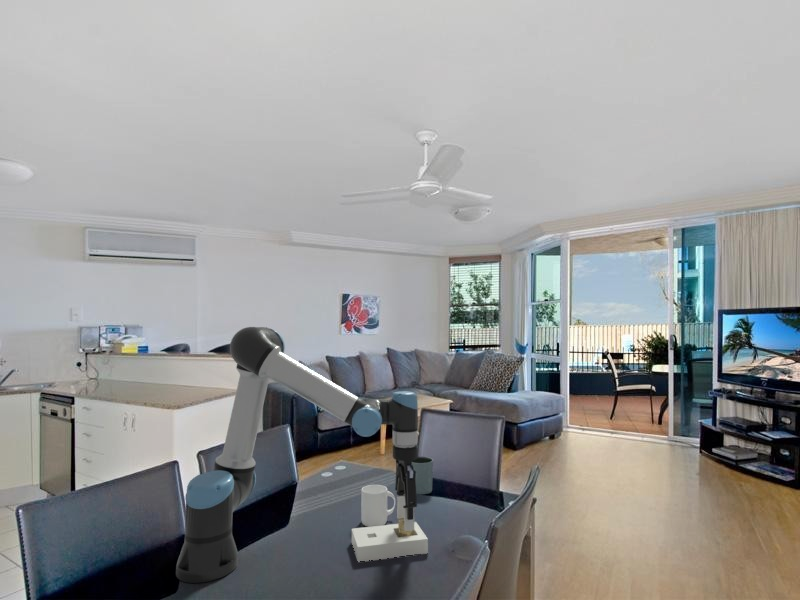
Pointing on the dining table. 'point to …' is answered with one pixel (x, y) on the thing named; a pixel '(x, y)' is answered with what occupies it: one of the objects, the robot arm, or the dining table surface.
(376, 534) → the block
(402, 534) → the cylinder
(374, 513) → the mug
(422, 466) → the grey-green cup
